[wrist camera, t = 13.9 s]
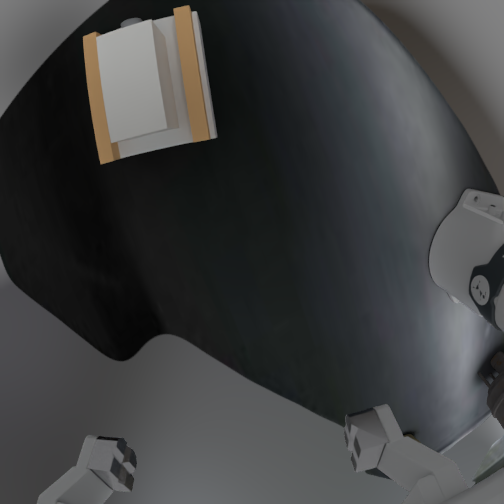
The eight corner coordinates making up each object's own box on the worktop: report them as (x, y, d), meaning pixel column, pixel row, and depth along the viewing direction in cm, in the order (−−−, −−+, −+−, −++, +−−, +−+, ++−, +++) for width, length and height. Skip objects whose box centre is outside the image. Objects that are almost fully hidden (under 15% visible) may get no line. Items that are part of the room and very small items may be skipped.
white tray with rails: (199, 22, 27) (194, 4, 22) (217, 136, 33) (214, 138, 27) (100, 49, 27) (78, 38, 22) (116, 158, 33) (96, 165, 27)
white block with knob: (179, 128, 29) (167, 128, 23) (132, 139, 29) (111, 143, 23) (163, 24, 24) (149, 4, 19) (117, 37, 24) (94, 22, 19)
